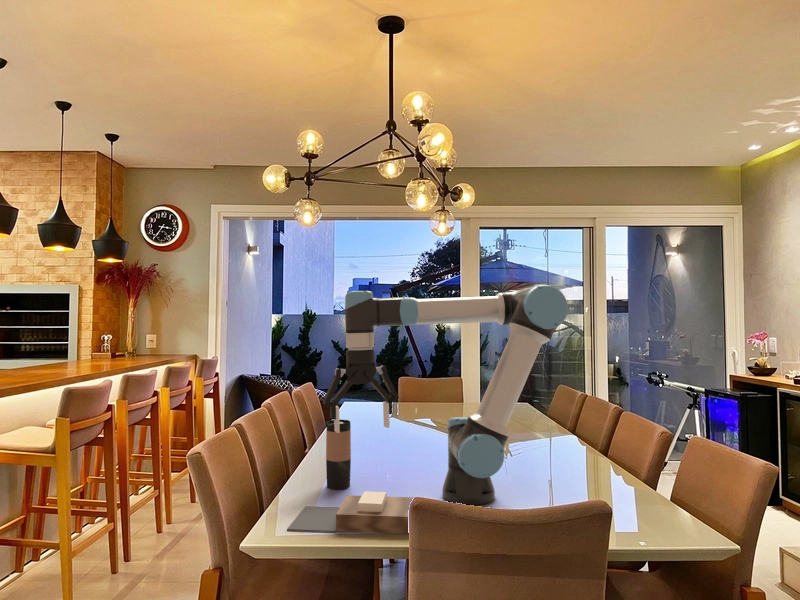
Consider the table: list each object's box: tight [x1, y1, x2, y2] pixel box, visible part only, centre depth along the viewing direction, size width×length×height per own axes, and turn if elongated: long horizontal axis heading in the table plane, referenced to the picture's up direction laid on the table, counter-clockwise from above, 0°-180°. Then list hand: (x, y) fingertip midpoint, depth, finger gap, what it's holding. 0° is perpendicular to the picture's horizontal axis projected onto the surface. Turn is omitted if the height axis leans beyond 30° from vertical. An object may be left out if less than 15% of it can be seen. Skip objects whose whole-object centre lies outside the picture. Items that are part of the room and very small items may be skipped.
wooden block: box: [336, 494, 415, 535], centre depth 132 cm, size 20×14×4 cm
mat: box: [286, 505, 341, 534], centre depth 134 cm, size 12×16×1 cm
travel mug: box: [325, 419, 352, 491], centre depth 161 cm, size 8×8×20 cm
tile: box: [358, 490, 387, 512], centre depth 133 cm, size 6×9×2 cm, turn 174°
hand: (362, 429), depth 137 cm, fingers open, 13 cm apart
